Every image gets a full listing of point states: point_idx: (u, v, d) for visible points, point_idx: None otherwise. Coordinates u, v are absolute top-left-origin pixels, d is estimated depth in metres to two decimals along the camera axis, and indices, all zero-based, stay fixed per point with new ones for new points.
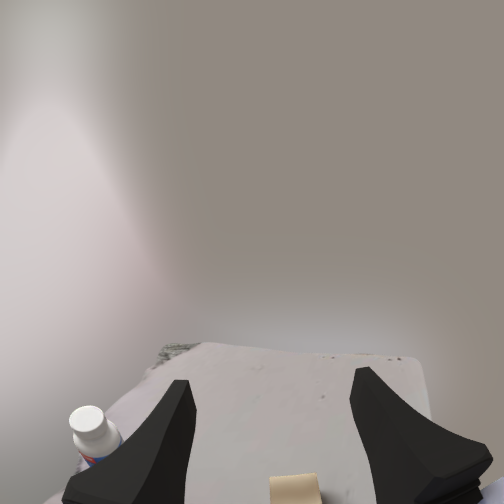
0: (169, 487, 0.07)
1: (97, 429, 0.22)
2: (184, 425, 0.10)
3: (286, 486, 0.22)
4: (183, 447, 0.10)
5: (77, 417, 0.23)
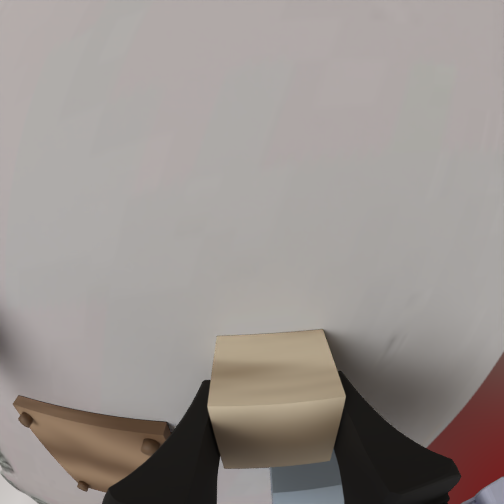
0: (206, 490, 0.07)
1: None
2: None
3: (256, 428, 0.09)
4: (215, 448, 0.10)
5: None
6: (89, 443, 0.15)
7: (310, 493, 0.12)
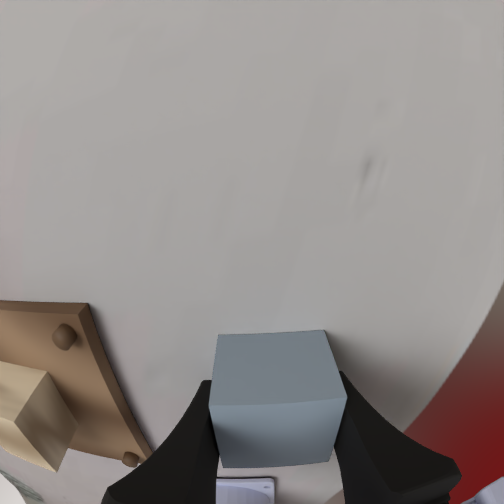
0: (206, 490, 0.07)
1: None
2: None
3: None
4: (214, 448, 0.10)
5: None
6: (11, 347, 0.12)
7: (271, 416, 0.09)
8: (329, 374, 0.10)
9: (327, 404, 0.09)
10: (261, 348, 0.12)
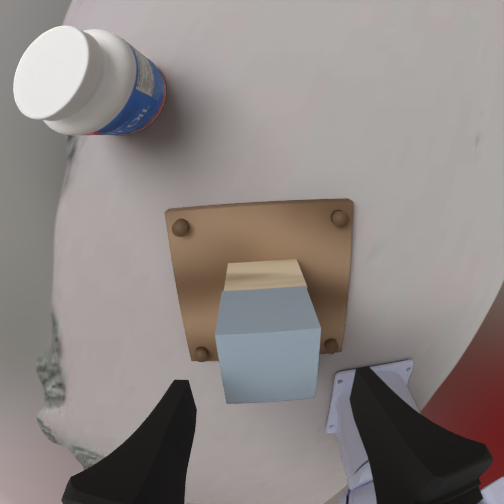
0: (169, 487, 0.07)
1: (85, 82, 0.08)
2: (184, 425, 0.10)
3: None
4: (183, 447, 0.10)
5: (27, 83, 0.08)
6: (261, 242, 0.20)
7: (262, 345, 0.13)
8: (307, 313, 0.14)
9: (305, 334, 0.13)
10: (255, 298, 0.15)
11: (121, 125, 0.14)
